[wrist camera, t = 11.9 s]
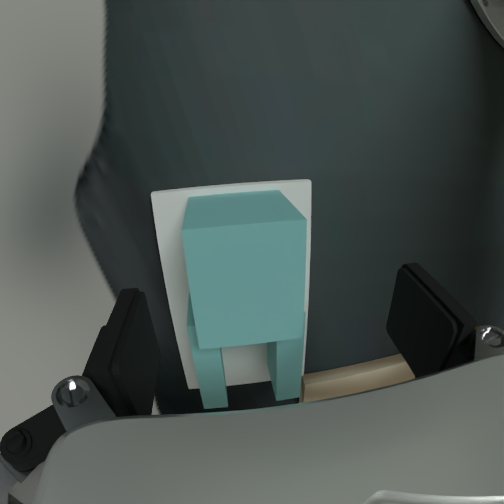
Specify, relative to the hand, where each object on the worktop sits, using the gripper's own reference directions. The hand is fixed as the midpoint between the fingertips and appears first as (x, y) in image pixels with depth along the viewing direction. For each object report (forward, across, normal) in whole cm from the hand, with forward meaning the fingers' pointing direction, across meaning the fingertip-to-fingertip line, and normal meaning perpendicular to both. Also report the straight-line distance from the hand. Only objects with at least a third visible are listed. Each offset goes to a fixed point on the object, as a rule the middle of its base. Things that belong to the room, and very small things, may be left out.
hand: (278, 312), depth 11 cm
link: (+8, +1, +5) cm, 9 cm away
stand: (+8, -9, +21) cm, 24 cm away
